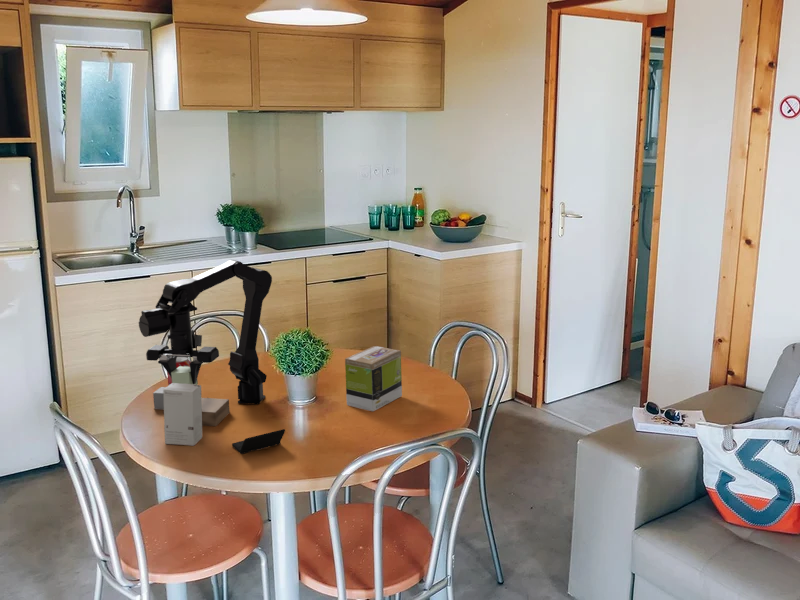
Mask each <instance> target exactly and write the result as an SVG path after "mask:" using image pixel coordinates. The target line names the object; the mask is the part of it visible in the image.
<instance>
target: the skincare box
mask: <svg viewBox="0 0 800 600" xmlns="http://www.w3.org/2000/svg"><path fill="white" fill-rule="evenodd" d="M165 387H166V388H164V389H163V395H164V410H163V419H164V420H163V425H164V428H163V429H164V431H163V432H164V444H165V445H181V446H183V445H184V446H195V445H197V443H198V442H200V441H201V440H202V439H203V425H202V400H201V398H202V385H201V384H197V385H193V384H181V383H171V384H170V385H169V386H168V385H167V386H165Z"/></svg>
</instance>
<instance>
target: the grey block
mask: <svg viewBox="0 0 800 600" xmlns="http://www.w3.org/2000/svg"><path fill="white" fill-rule="evenodd" d="M166 387H167V386H159V388H157V389H156V390H155V391H154V392H152V397H153V407H154V410H163V411H164V395H163V389H164V388H166Z"/></svg>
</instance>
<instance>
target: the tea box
mask: <svg viewBox="0 0 800 600" xmlns="http://www.w3.org/2000/svg"><path fill="white" fill-rule="evenodd" d="M344 367H345V368H344V369H345V390H346V391H345V392H346V405H347V406H350V407H354V408H357V409H360V410H363V411H370V412H375V411H377V410H379V409H381V408H382V407H384V406H385V405H389V404H390V403H391V402H393V401H395V400H397V399H399V398H401V397H402V396H403V385H402V384H403V383H402V380H403V379H402V352H401V350H399V349H395V348H394V349H393V348H387V347H383V346H378V345H373V346H371V347H369V348H366V349H364V350H362V351H359V352H357V353H355V354H353V355H350V356H348V357H346V358H345V359H344Z"/></svg>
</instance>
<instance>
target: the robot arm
mask: <svg viewBox="0 0 800 600" xmlns="http://www.w3.org/2000/svg"><path fill="white" fill-rule="evenodd" d="M233 278H238V279H240V280H242V290H243V294H244V297H245V302H244V308H243V309H244V310H243V314H242V315H243V316H242V321H241V328H240V336H239V343H238V346H237V348H236V350H235V351H230V354H229V361H228V363H227V365H228V366H229V371H230V372H231V373H232V374H233V375H234V377H235V379H236V380H239V381H238V385H237V399H238V401H237V404H243V405H260V404H261V402H263V400H265V398H266V395H265V394H264V384H263V383H266V380H267V374H266V373H264V372H263V371H262V370H261V369H259V368H260V366H259V365H260V363H259V362H260V361H259V356H258V353H257V342H258V336H259V328H260V322H261V313H262V309H263V301H264V299H265V298H266V297H267V295H268V294H269V292H270V289H271V285H272V283H273V277H272V275H271V274H270V272H269V271H268V270H264V269H260V268H257V267H251V266H249V265H247V264H245V263H244V262H241V261H239V260H235V259H229V260H227V261H226V262H224V263H222V264H220V265H218V266H216V267H213V268H211V269H209V270H207V271H205V272H202V273H200V274H198V275H195V276H193V277H191V278H183V279H176V280H173V281H169V282H168V283H165V285H164V286H163V289H162V294H161V296H160V297H159V298H158V299H159V300H158V301H157V303H156V305H155V308H154V309H153V308H152V309H149V310H148V309H144V310H141V312H140V313H141V315H140V317H139V321H138V328H139V330H140V333H141V335H142V336H143V337H144V338H147V337H152V336H155V335H156V336H157V335H160V334H164V333H167V332H168V331H169V334H167V339H168V340H170V342H169V343H170V348H169V346H168V345H167V344H155V345H153V346H151V347H150V348H149V349H147V350H146V354H145V357H146V360H147V361H156V362H157V363H158V364H160V365H161V366H162V367H163V368H164V369H165V371H166V372H168V373H169V375H170V377H171V378H172V375H171V372H172V371H174V370H175V369H176V359H177V357H188V358H192V361H190V362H191V363H190V370H191V377H192V382H193V384H195V383H196V381H197V380H198V377H199V373H200V370H201V367H202V365H203V363H207V364H209V363H212V362H214V361H215V360H216V359H218V358H219V357H220V353H219V352H220V351H219V349H218V347H216V346H203V347H202V339H203V335H201V334H195V330H194V329H192V322H191V321H192V320H191V312H194V311H197V310H198V307H196V306H195V305H194V304H193V303H192V301H194V300H195V299H197V298H198V296H199V295H200V294H201V293H203V292H205V291H207V290H209V289H210V288H213V287H215V286H218V285H219V284H222V283H224V282H226V281H228V280H230V279H233ZM198 347H202V348H201V349H198ZM196 348H197V349H198V350H197V349H196Z"/></svg>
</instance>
